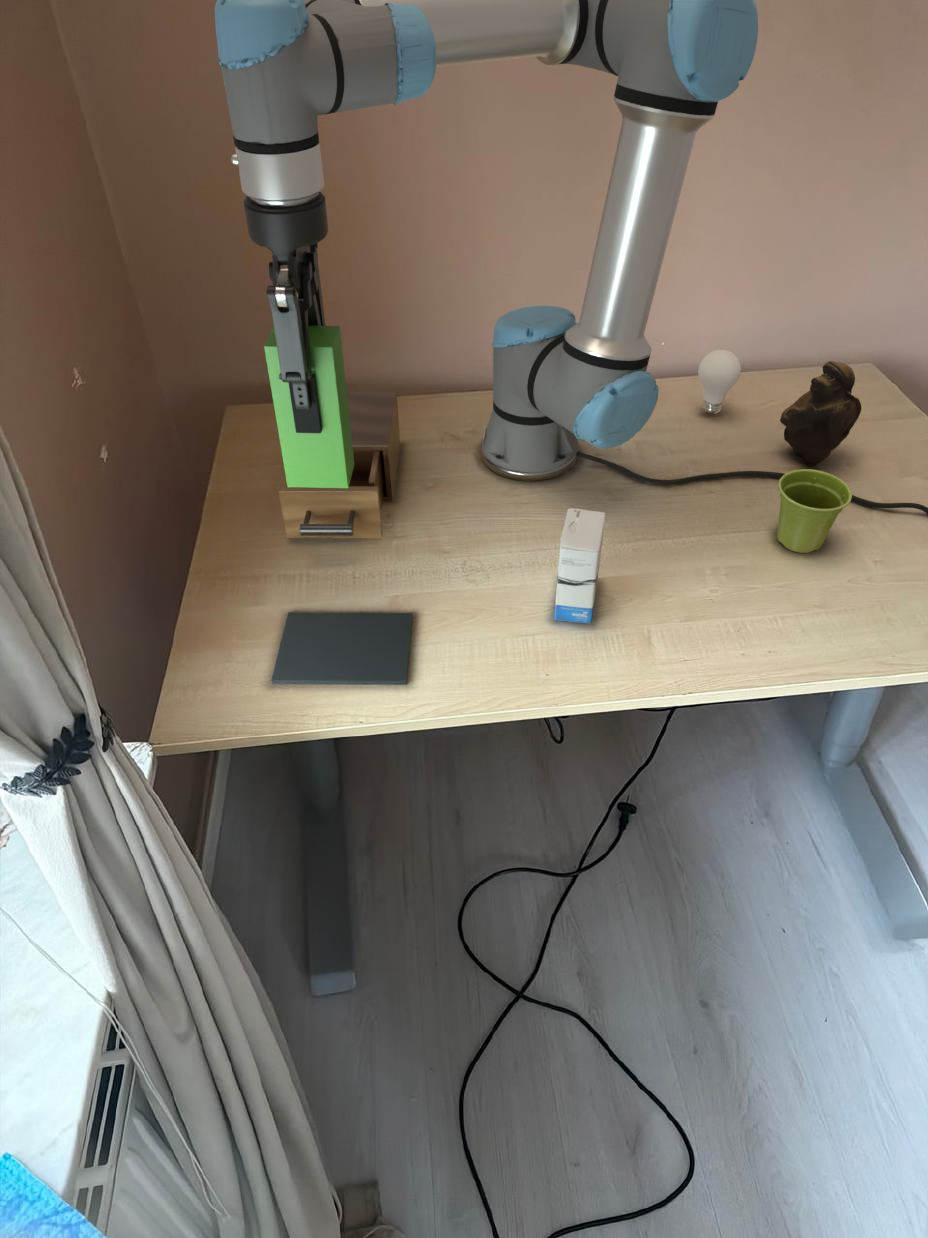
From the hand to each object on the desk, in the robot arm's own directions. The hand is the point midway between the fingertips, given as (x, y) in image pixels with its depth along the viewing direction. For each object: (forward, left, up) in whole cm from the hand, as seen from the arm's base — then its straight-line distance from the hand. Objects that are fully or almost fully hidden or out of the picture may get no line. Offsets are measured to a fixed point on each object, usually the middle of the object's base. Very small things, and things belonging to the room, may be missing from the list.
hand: (313, 417), depth 98 cm
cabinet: (+2, -30, -27) cm, 41 cm away
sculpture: (-70, -34, -27) cm, 82 cm away
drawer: (+2, -17, -26) cm, 32 cm away
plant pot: (-63, -13, -27) cm, 70 cm away
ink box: (-31, 0, -27) cm, 41 cm away
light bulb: (-57, -48, -27) cm, 79 cm away
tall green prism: (0, 0, -8) cm, 8 cm away
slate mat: (-2, +9, -27) cm, 29 cm away
